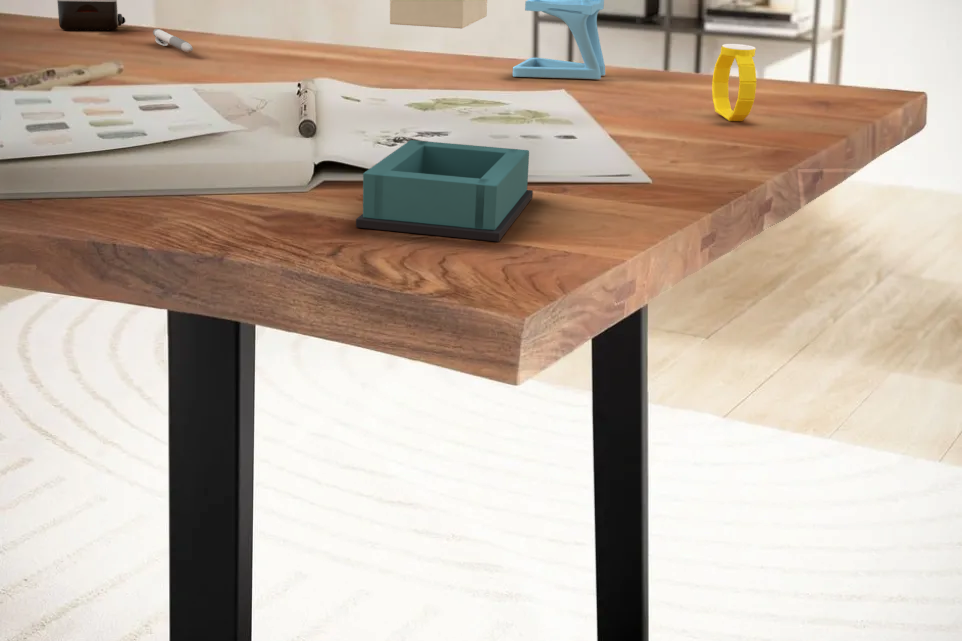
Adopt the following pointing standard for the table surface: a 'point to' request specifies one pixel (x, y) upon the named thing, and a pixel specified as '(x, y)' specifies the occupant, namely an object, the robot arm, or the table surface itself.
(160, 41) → the pen
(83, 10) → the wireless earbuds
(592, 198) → the table surface
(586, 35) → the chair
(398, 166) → the box
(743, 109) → the watch
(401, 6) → the toy robot
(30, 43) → the table surface
